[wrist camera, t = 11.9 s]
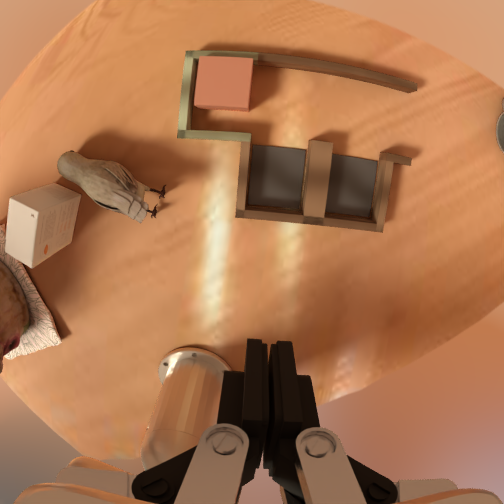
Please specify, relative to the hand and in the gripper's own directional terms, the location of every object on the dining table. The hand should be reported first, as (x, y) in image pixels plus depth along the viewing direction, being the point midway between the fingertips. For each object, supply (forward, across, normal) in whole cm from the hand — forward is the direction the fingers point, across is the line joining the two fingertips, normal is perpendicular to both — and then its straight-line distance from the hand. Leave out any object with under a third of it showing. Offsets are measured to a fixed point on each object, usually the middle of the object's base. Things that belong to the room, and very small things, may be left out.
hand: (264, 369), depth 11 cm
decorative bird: (+30, +20, -3) cm, 36 cm away
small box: (+29, +29, +2) cm, 41 cm away
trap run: (+29, -4, -10) cm, 31 cm away
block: (+29, +6, -15) cm, 34 cm away
